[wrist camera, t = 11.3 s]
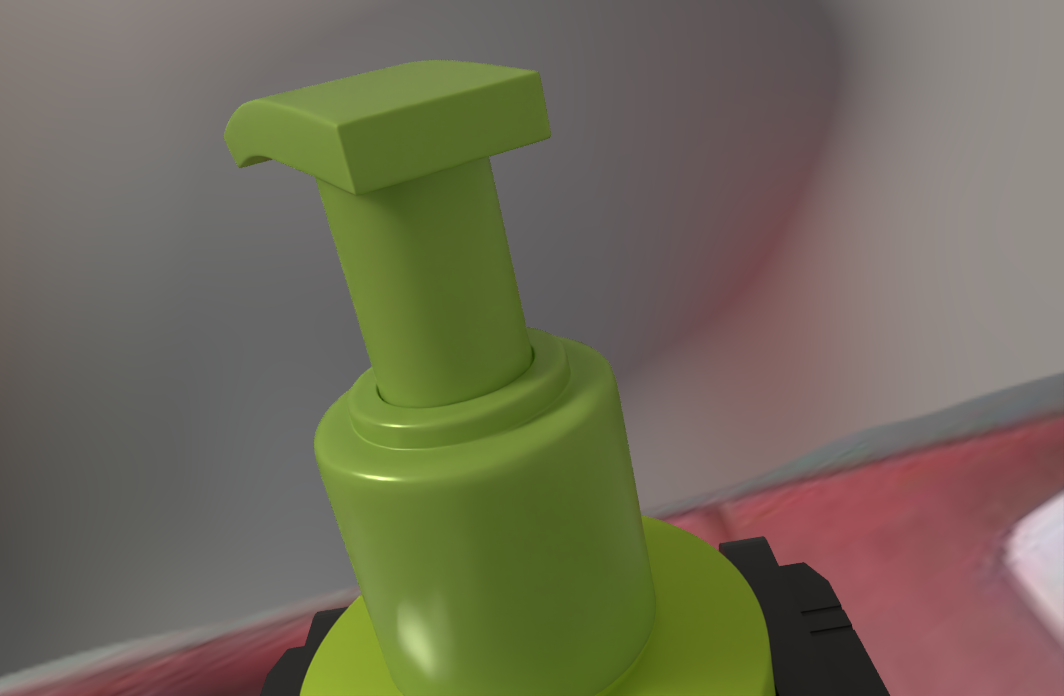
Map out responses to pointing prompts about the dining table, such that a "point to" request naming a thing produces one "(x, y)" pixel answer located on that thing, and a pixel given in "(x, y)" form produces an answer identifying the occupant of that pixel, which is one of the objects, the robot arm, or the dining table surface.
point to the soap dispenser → (482, 428)
